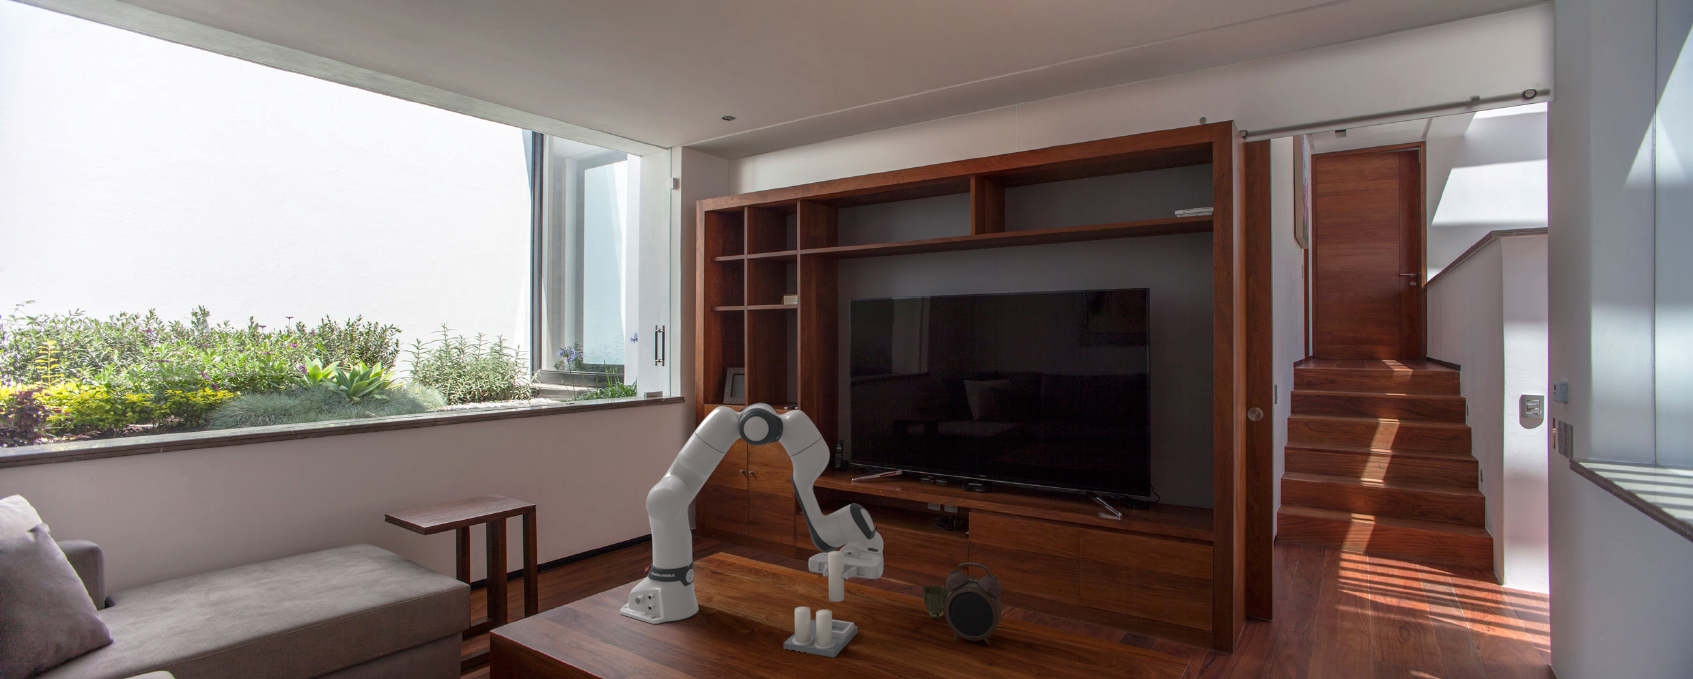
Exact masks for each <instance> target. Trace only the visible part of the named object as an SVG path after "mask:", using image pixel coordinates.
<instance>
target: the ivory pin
mask: <svg viewBox="0 0 1693 679" xmlns="http://www.w3.org/2000/svg"><path fill="white" fill-rule="evenodd" d="M843 571H844V562H843V552H840V550H834V551H832V552H829V553H828V575H829V577H828V600H829V602H835V603H836V602H837V603H839V602H843V601H844V600H845V579H842V572H843Z"/></svg>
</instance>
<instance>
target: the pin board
mask: <svg viewBox="0 0 1693 679" xmlns="http://www.w3.org/2000/svg"><path fill="white" fill-rule="evenodd" d="M858 627H859V626H856V625H855V622H851V621H845V620H844V621H843V620H837V619H833V612H832V610H830V609H819V610H817V611H816V612H815V619H811V608H810V607H808V606H797V607H795V608H794V633H793V634H792V635H791V636H790V637H789V638H787V639H786V640H785V641H784V642H783V649H784V650H786V649H788V651H792V650H795V651H794V652H798V651H800V653H804V652H806V653H807V654H810V655H811V654H812V655H817V656H824V657H829V658H836V657H837V656H838V654H839V653H841V651H842V650H843V649H844V648H845V647H846V646H847V645H848V644H849V642H851V640H853V638H854V637H855V636H856V635H857V634H858V633H859V628H858ZM806 653H805V654H806Z"/></svg>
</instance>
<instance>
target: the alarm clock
mask: <svg viewBox="0 0 1693 679" xmlns="http://www.w3.org/2000/svg"><path fill="white" fill-rule="evenodd" d="M967 566H971V567H977V568H978V567H979V568H981V569H984V570H985V572H986V575H984V576H982V577H981V578H980V579H977V575H975V574H970V575H969V577H968V575H967V574H965V573H964V572H963V571H959V569H960V568H961V567H967ZM949 572H950V573H949V574H947V578H946V581H945V584H946V587H948V589H949V594H948V596H947V598H946V602H945V607H944V612H943V615H944V617H945V620H946V623H947V625H948V626H949V628H950V629H951V631H952V632H953V633H954V634H955V636H954V638H952V639H953V641H954V642H956V640H957V639H958V638H959V637H960V638H962V639H963V640H964V639H965V640H968V641H975V642H976V641H982V640H984V641H985V643H987V644H990V645H991V643H990V641H989V639H988V638H991V637H992V634H993V633H994V632H995V631H996V630H997V628H998V626H999V624H1000V621H1001V619H1002V603H1001V599H1000V597H999V596H1000V594H1001V592H1002V587H1003V586H1002V582H1000V580H999V579H998V575H997V574H995V575H992V572H991V571H990V570H989V568H988V567H987V566H986V565H984V564H981V563H978V562H977V563H976V562H963V563H959V564H958V565H957V566H956V568H955V570H954V569H952V568H951V569H950V570H949ZM987 644H986V645H987Z"/></svg>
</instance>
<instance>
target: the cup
mask: <svg viewBox="0 0 1693 679" xmlns="http://www.w3.org/2000/svg"><path fill="white" fill-rule="evenodd" d="M949 592H950V590H949V589H948V587H947V586H946V587H945V585H942V586H941V585H940V584H938V585H937V584H934V585H933V584H930V585H927V584H926V585H924V586H923V587H922V595H923V603H924V607H925V610H927V611H928V612H929V616H930V618H931V619H935V620H936V619H937V620H938V619H939V620H940V619H941V618H943V615H944V607H945V602H946V598H947V596H948V594H949Z"/></svg>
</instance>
